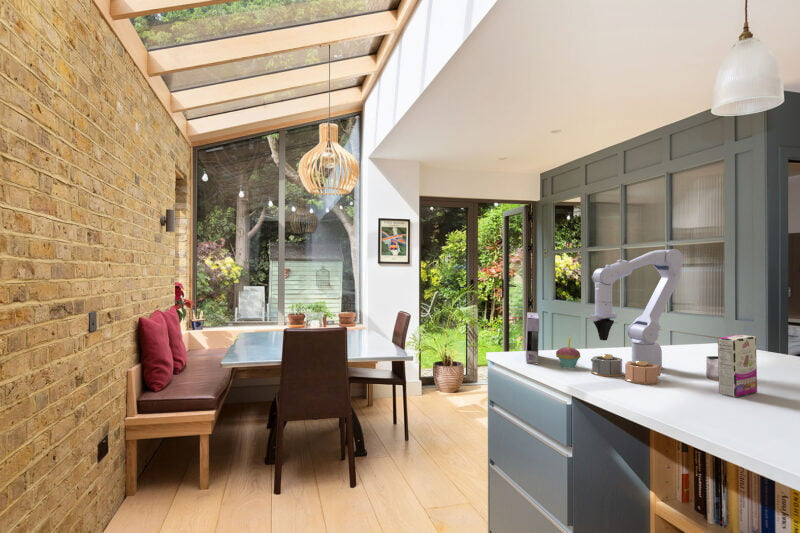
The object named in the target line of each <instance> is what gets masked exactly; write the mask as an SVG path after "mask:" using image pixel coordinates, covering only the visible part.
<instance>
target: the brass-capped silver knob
mask: <svg viewBox="0 0 800 533" xmlns="http://www.w3.org/2000/svg"><path fill="white" fill-rule="evenodd" d="M600 356H601V360H613V357H614V356H613V354H610V353H609V354H608V353H604V354H603V353H602V354H601V355H600Z"/></svg>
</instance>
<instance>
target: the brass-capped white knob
mask: <svg viewBox="0 0 800 533" xmlns="http://www.w3.org/2000/svg"><path fill="white" fill-rule="evenodd" d="M635 366H638V367H648V361H644V360H635Z"/></svg>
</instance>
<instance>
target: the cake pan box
mask: <svg viewBox="0 0 800 533" xmlns="http://www.w3.org/2000/svg"><path fill="white" fill-rule="evenodd" d="M525 324H526V326H525V327H526V328H525V329H526V330H525V360H526V361H525V363H526V362H527V363H526V364H531V363H538V364H539V332H540V317H539V314H538V313H537V312H526V323H525Z"/></svg>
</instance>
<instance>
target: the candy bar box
mask: <svg viewBox="0 0 800 533" xmlns="http://www.w3.org/2000/svg"><path fill="white" fill-rule="evenodd" d="M717 357H718V358H717V361H718V394H719V395H721V394H722V396H726V395H727V397H730V398H739V397H744V396H748V395H751V394H756V393H758V374H757V373H758V372H757V370H758V367H757V336H754V335H747V334H746V335H745V334H737V335H728V336H722V337H718V338H717Z"/></svg>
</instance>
